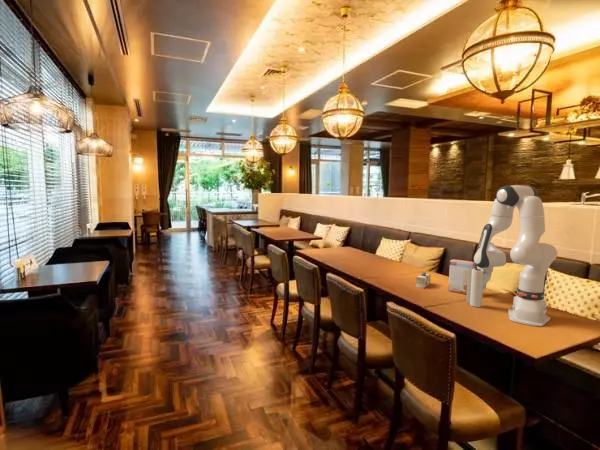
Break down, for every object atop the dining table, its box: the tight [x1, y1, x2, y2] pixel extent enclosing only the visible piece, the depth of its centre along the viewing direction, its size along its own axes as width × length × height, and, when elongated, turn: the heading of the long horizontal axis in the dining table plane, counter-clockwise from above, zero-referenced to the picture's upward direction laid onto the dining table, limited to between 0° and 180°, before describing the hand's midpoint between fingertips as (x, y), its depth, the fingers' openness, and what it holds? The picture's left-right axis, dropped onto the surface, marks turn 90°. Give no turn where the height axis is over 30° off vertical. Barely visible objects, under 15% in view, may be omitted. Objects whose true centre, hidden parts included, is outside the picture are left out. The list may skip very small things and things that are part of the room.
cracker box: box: [447, 258, 476, 295], centre depth 223 cm, size 14×6×21 cm, turn 47°
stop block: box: [415, 271, 432, 289], centre depth 239 cm, size 14×5×9 cm, turn 141°
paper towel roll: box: [465, 268, 484, 308], centre depth 199 cm, size 7×6×21 cm
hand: (483, 289), depth 215 cm, fingers closed
